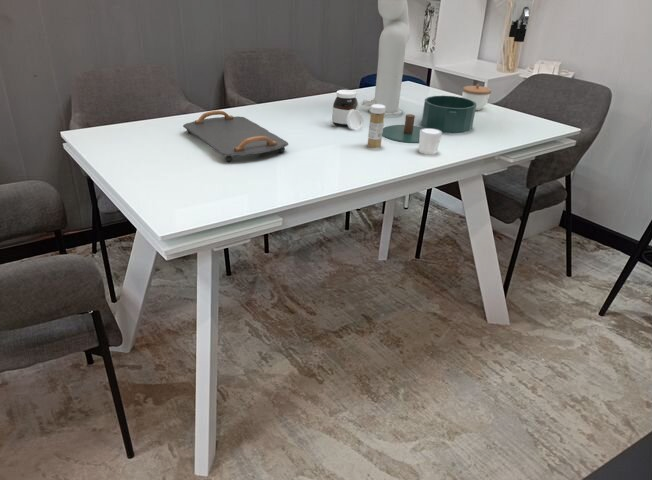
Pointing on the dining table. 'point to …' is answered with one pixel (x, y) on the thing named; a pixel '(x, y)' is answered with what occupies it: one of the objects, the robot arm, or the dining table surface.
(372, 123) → the sprinkles bottle
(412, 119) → the tin lid
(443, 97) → the tin
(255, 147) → the serving tray
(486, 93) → the white lidded jar
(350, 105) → the spread jar
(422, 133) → the white cup
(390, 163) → the dining table surface
